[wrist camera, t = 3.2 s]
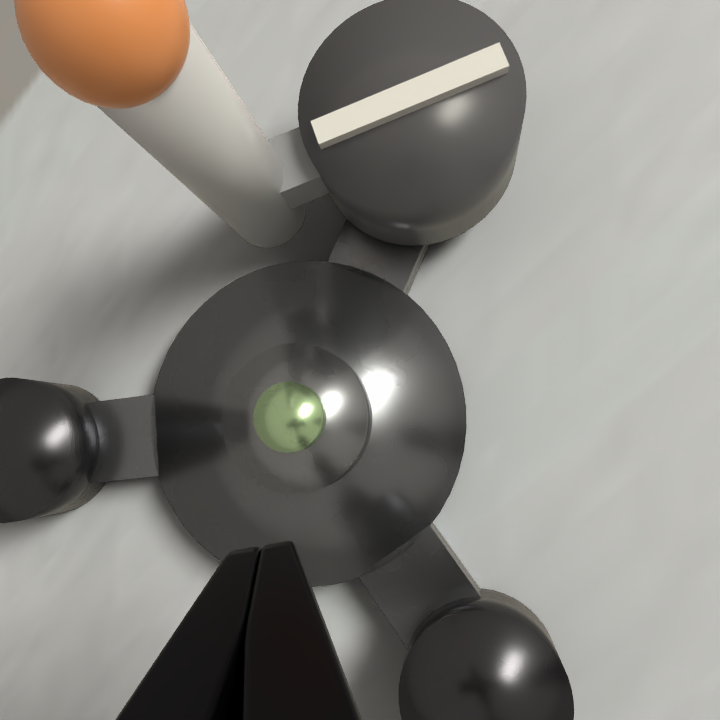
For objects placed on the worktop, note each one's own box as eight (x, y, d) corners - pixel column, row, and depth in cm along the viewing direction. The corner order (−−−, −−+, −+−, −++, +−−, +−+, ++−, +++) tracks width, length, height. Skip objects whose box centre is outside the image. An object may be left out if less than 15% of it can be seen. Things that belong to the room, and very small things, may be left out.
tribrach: (511, 793, 18) (520, 853, 15) (-21, 476, 22) (-85, 482, 19) (766, 234, 18) (815, 202, 16) (206, 27, 22) (173, -25, 20)
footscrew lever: (475, 31, 19) (488, -438, 9) (546, 201, 18) (655, -106, 8) (203, 146, 20) (-65, -155, 10) (257, 312, 19) (18, 169, 9)
